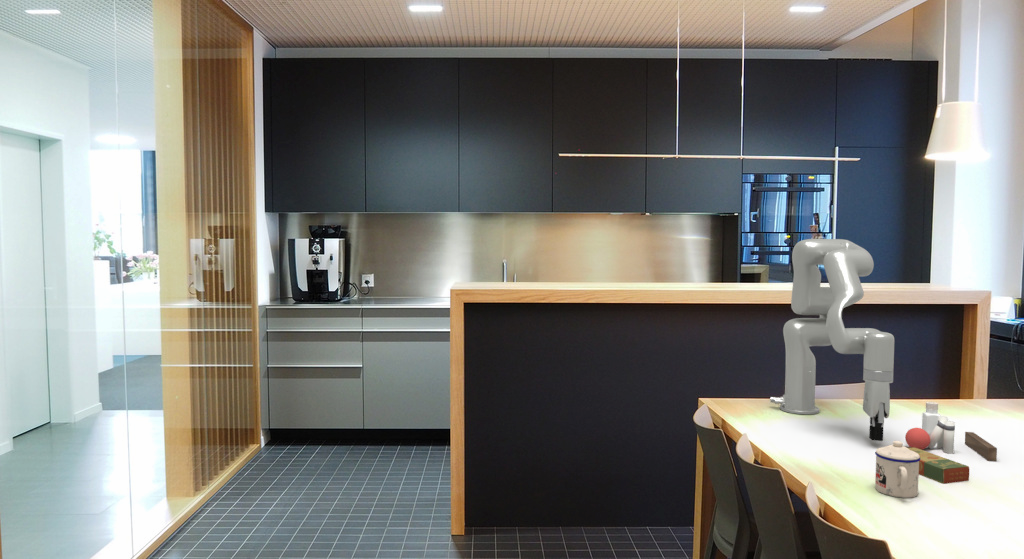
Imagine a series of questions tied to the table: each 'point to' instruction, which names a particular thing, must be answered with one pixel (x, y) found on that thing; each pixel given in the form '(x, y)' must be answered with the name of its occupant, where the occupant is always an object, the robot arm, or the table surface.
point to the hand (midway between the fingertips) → (876, 439)
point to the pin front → (936, 434)
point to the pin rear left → (941, 440)
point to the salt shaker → (930, 417)
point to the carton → (941, 468)
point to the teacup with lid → (897, 471)
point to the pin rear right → (949, 437)
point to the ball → (917, 438)
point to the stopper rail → (981, 446)
